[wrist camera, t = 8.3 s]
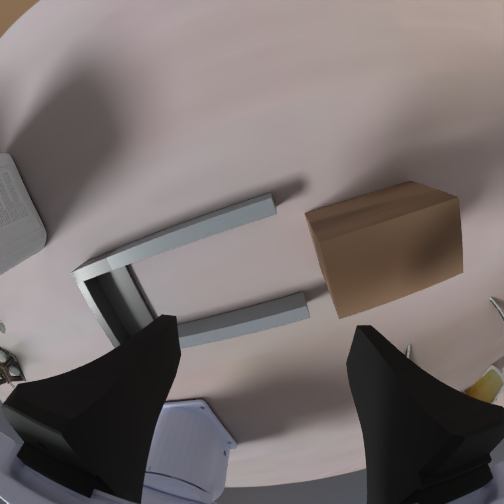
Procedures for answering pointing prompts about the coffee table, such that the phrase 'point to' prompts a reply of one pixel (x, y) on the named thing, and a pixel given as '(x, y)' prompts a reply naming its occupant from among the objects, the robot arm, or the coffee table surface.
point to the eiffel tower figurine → (9, 365)
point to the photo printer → (17, 218)
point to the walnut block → (387, 245)
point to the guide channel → (115, 262)
